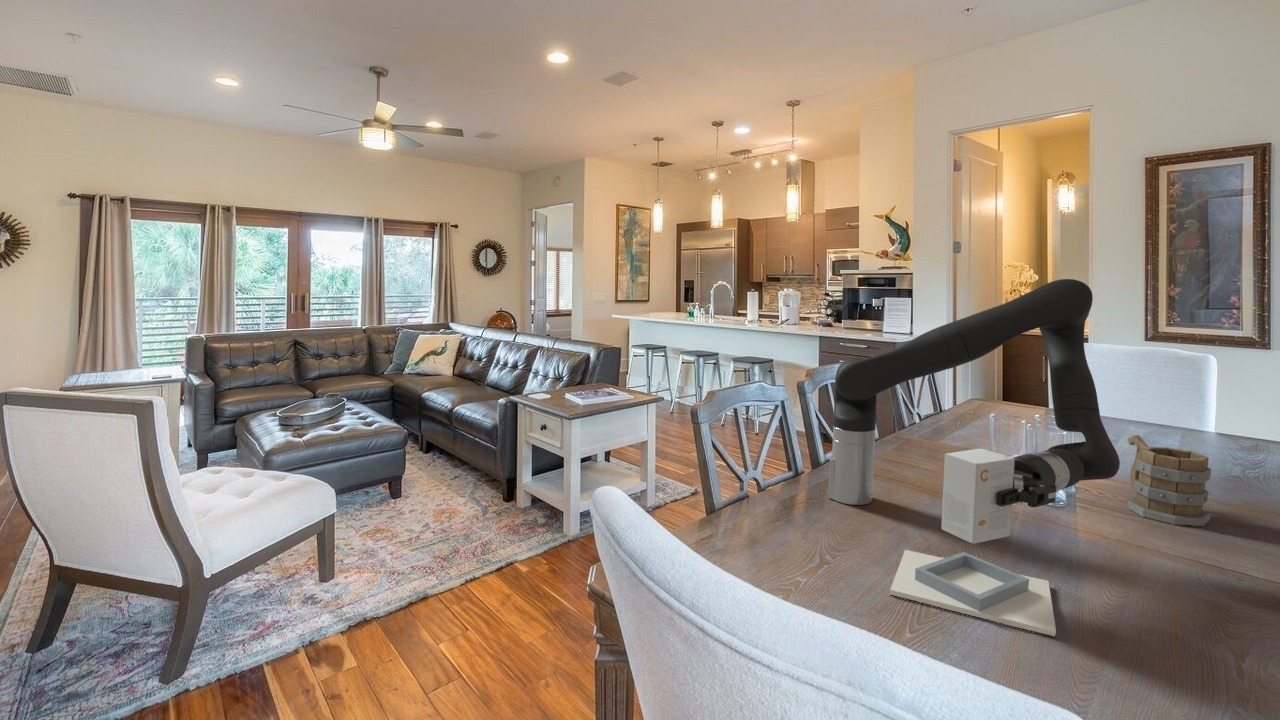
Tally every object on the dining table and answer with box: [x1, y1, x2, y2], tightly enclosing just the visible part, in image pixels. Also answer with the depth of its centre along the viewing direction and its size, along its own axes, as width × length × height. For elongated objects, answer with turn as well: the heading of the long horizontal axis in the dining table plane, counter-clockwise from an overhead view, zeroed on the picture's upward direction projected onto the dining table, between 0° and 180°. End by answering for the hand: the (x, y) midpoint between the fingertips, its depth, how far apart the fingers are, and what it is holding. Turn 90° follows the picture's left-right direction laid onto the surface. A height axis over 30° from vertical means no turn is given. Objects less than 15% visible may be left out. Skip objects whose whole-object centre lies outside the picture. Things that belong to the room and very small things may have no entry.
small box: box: [941, 448, 1015, 545], centre depth 94 cm, size 8×6×13 cm
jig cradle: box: [889, 549, 1057, 636], centre depth 96 cm, size 22×17×3 cm
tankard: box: [1126, 434, 1212, 527], centre depth 131 cm, size 20×13×15 cm, turn 170°
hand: (975, 492), depth 94 cm, fingers closed on small box, 7 cm apart
